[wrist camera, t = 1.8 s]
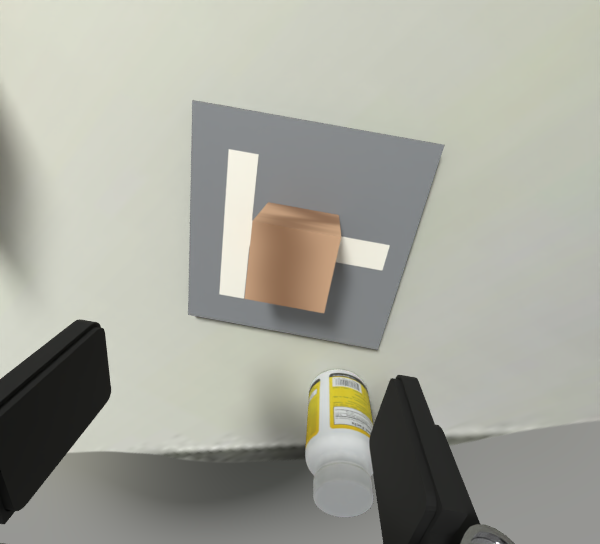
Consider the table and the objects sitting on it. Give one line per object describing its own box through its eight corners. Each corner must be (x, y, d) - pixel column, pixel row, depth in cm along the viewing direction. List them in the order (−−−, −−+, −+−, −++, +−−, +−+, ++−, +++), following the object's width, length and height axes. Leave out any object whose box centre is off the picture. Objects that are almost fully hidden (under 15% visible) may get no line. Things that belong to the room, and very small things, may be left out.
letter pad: (439, 144, 21) (444, 144, 20) (376, 342, 28) (377, 350, 27) (198, 101, 21) (192, 100, 20) (192, 308, 28) (188, 314, 27)
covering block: (338, 215, 22) (341, 237, 18) (325, 278, 24) (324, 313, 20) (268, 202, 22) (252, 221, 18) (260, 266, 25) (244, 298, 20)
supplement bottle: (324, 417, 32) (322, 530, 23) (299, 377, 30) (286, 483, 21) (376, 401, 30) (396, 515, 21) (353, 359, 29) (364, 464, 20)
